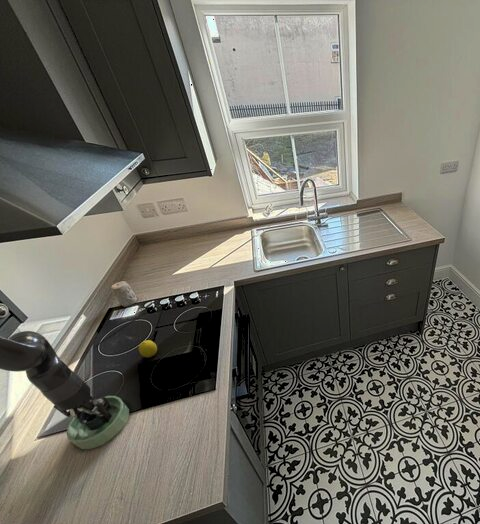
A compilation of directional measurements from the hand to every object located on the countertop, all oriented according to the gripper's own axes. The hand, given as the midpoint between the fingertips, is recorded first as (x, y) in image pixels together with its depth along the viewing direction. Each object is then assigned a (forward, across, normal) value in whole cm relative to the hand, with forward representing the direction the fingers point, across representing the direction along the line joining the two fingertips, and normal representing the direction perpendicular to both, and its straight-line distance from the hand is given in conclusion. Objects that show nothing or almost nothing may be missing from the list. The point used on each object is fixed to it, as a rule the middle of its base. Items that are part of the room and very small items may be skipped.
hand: (98, 419), depth 91 cm
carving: (+4, -28, +59) cm, 65 cm away
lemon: (+4, 0, +27) cm, 27 cm away
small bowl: (+1, 0, 0) cm, 1 cm away
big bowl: (+4, 0, 0) cm, 4 cm away
